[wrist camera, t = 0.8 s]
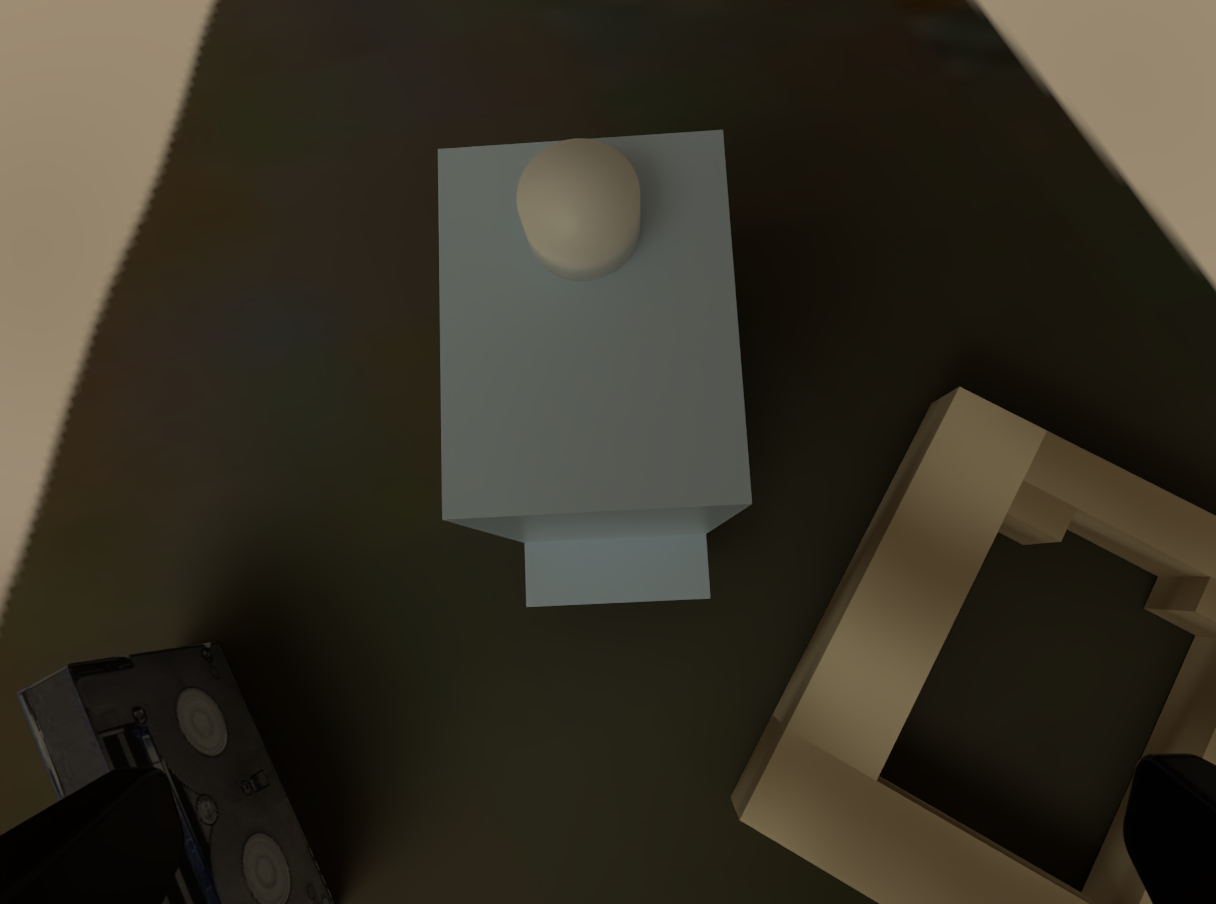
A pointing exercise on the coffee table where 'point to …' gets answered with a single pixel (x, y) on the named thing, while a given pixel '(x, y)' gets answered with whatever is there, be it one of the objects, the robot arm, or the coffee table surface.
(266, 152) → the coffee table surface
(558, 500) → the servo
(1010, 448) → the plate
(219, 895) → the mini dv tape
